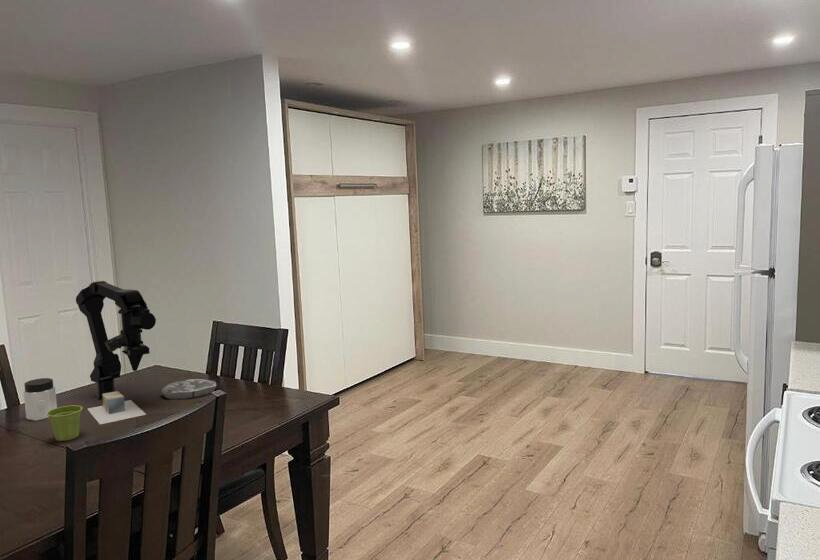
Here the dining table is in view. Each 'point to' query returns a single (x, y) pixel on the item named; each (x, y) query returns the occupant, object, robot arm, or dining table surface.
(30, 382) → the jar
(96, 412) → the grey mat
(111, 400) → the birch block
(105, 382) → the robot arm
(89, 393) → the dining table surface
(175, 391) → the brain slice
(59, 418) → the plant pot
